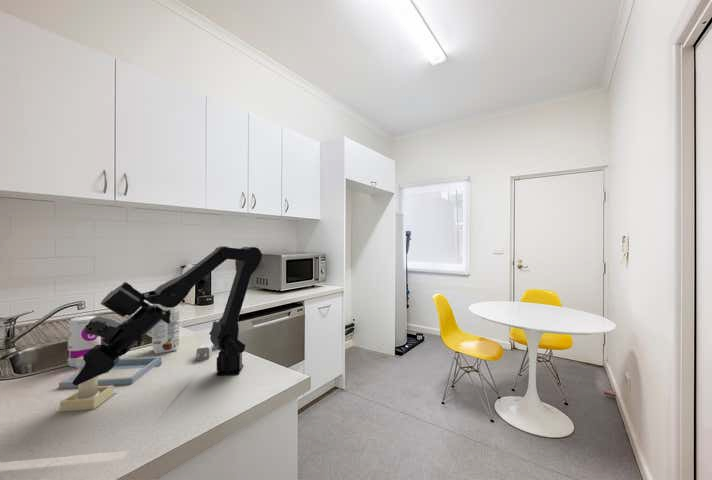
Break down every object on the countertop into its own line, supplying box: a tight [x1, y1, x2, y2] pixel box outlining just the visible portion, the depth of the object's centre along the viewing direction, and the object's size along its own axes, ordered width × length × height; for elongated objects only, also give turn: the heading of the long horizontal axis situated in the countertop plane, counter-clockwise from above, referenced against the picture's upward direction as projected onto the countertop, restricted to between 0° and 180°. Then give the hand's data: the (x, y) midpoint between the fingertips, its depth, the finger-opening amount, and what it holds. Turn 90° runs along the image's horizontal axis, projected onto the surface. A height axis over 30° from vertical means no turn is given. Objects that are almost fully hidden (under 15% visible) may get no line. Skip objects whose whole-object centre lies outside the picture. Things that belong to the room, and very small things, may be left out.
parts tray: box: [58, 356, 162, 390], centre depth 89 cm, size 18×16×2 cm
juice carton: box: [151, 304, 180, 355], centre depth 112 cm, size 8×9×19 cm
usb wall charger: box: [196, 342, 213, 361], centre depth 104 cm, size 4×7×4 cm, turn 16°
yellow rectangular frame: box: [55, 385, 117, 414], centre depth 73 cm, size 8×8×3 cm
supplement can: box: [67, 314, 102, 368], centre depth 100 cm, size 8×8×15 cm
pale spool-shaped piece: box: [75, 356, 100, 400], centre depth 73 cm, size 4×4×11 cm
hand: (83, 376), depth 73 cm, fingers open, 9 cm apart
